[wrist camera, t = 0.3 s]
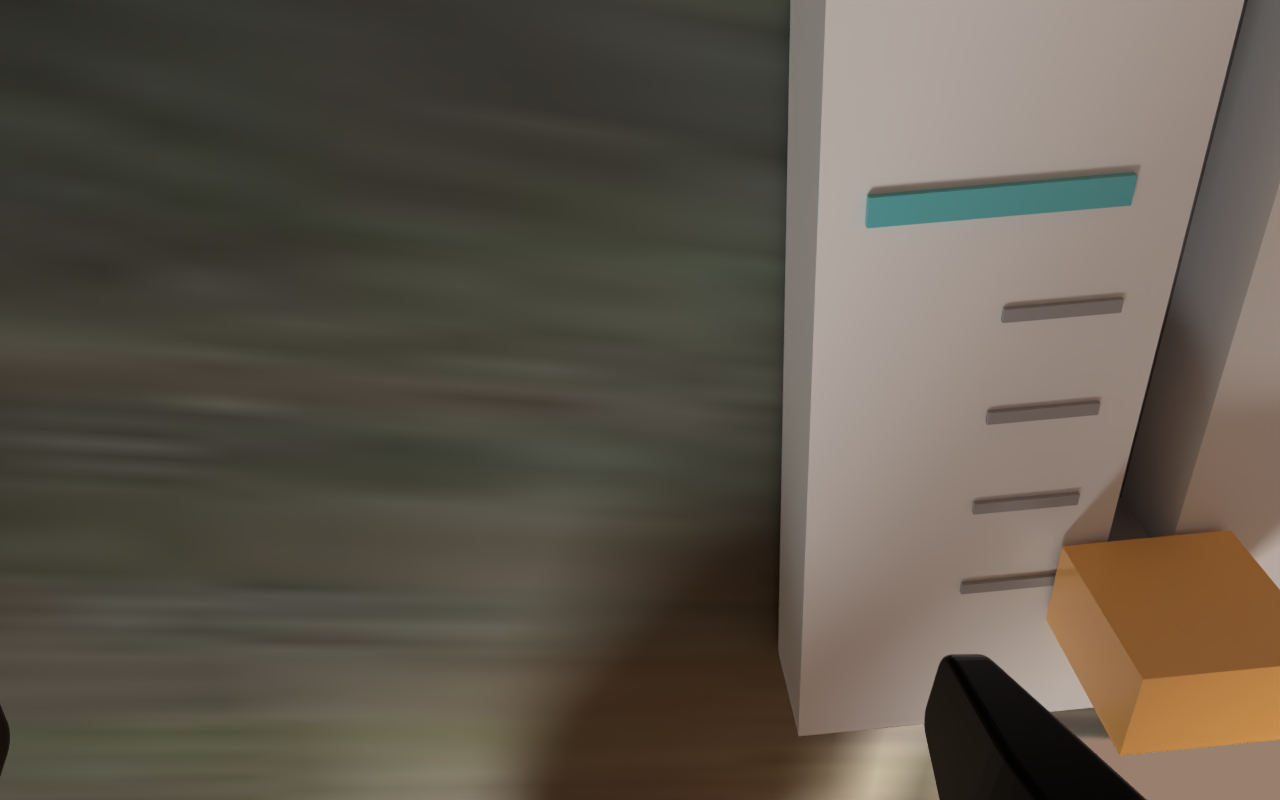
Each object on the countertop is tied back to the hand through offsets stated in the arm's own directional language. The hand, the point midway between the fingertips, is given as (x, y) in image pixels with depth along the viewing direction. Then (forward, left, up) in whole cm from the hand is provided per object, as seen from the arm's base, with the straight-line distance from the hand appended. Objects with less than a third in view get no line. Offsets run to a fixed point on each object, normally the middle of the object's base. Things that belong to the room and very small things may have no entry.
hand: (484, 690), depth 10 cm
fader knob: (-10, -14, -14) cm, 22 cm away
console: (-5, -14, -14) cm, 20 cm away
